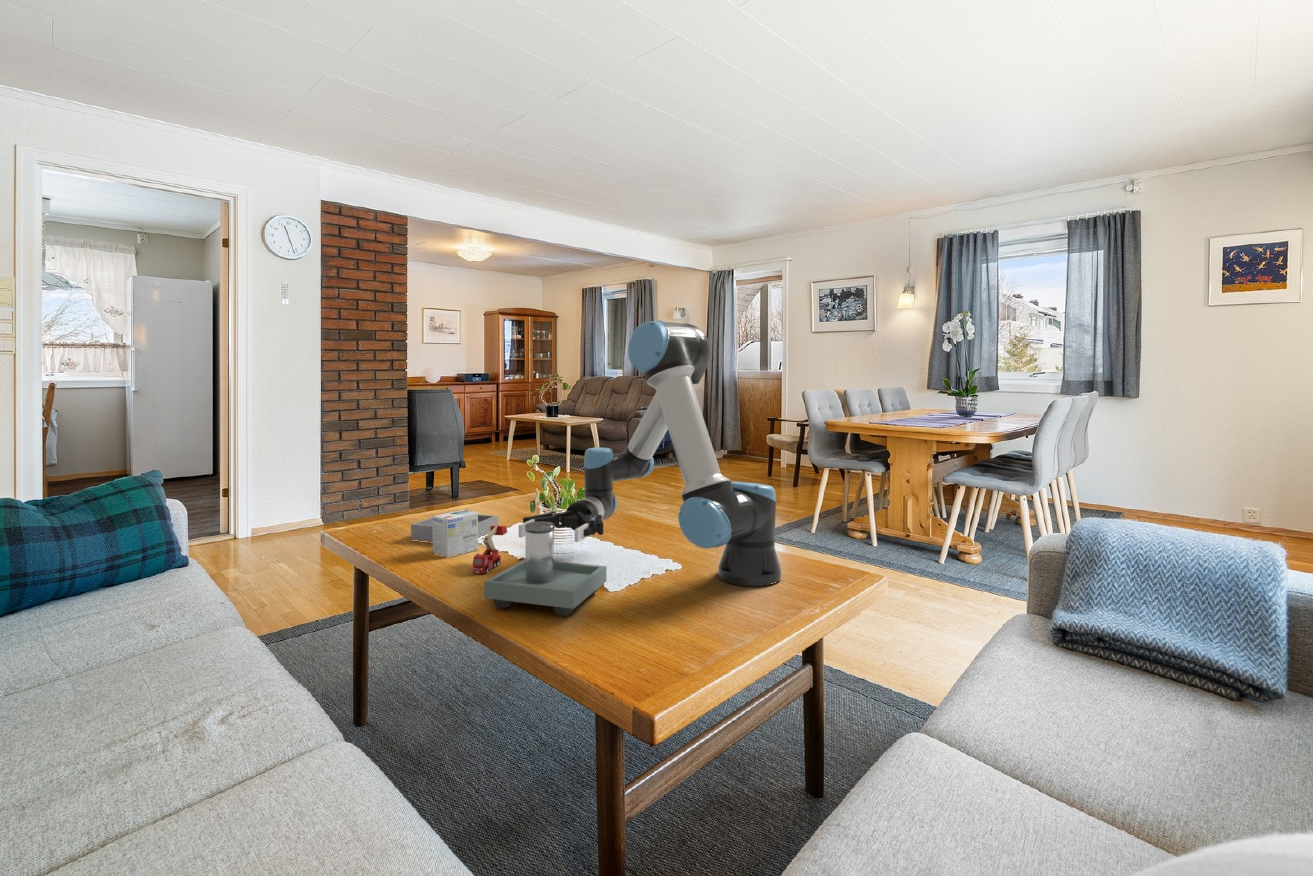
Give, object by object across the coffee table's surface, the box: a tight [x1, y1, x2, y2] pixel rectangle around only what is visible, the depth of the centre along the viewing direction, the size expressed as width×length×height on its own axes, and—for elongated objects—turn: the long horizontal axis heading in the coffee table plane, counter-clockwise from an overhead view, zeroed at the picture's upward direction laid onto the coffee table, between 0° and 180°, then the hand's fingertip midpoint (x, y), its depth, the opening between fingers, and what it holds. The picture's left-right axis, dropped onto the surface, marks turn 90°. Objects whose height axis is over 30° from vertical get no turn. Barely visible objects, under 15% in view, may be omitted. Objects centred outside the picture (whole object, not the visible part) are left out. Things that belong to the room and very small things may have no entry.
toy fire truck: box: [472, 525, 508, 574], centre depth 164 cm, size 3×14×10 cm, turn 169°
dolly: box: [483, 558, 607, 618], centre depth 140 cm, size 20×18×6 cm
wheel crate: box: [410, 511, 499, 542], centre depth 195 cm, size 18×18×5 cm
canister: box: [524, 522, 555, 584], centre depth 140 cm, size 6×6×12 cm
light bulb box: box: [431, 509, 479, 558], centre depth 178 cm, size 11×7×11 cm, turn 144°
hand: (547, 533), depth 144 cm, fingers open, 13 cm apart
